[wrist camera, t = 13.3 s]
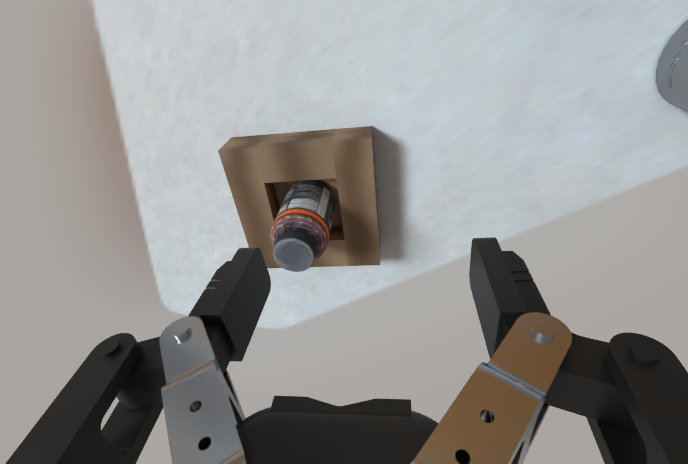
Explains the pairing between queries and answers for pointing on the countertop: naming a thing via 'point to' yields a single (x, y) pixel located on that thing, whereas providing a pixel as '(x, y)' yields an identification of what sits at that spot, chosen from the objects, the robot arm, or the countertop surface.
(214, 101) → the countertop surface
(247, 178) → the walnut holder
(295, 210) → the supplement bottle
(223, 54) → the countertop surface
